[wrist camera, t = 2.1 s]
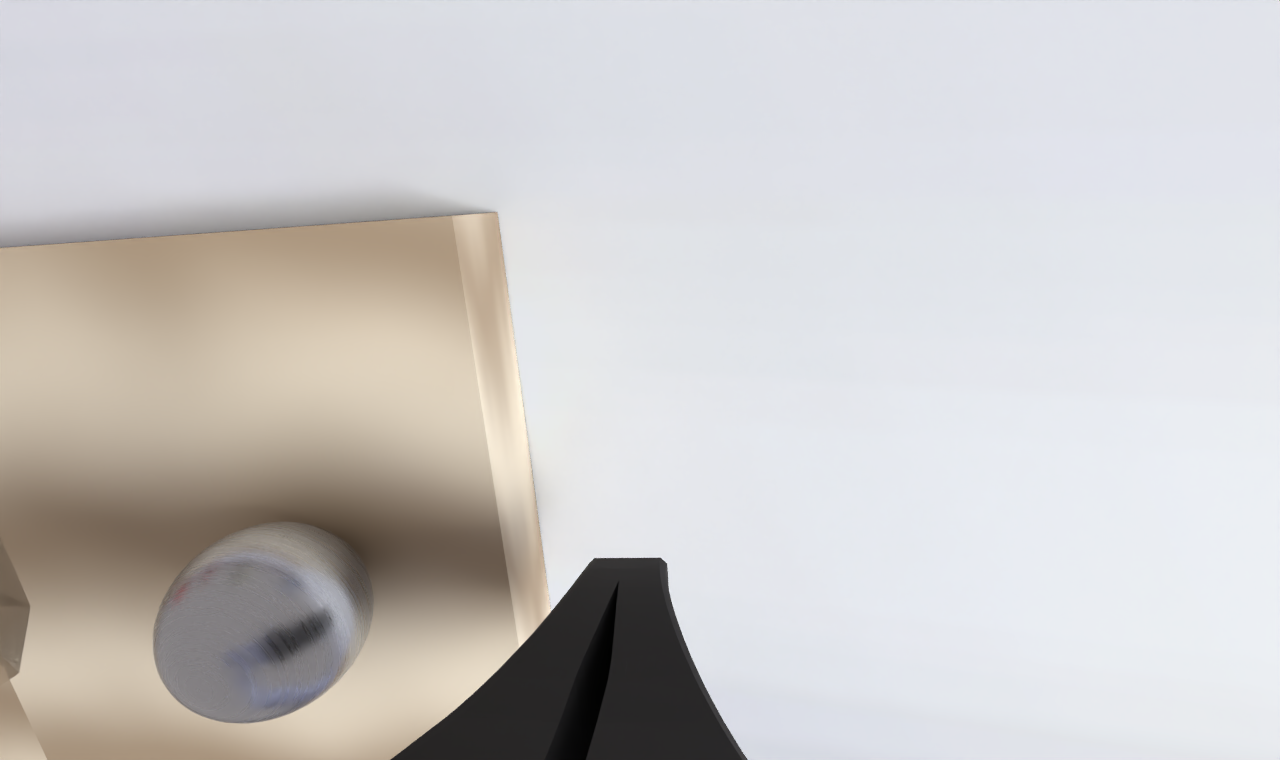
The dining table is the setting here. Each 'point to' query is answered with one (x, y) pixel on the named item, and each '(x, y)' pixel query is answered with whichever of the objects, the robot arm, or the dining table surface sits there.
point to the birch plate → (259, 472)
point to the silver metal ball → (263, 622)
